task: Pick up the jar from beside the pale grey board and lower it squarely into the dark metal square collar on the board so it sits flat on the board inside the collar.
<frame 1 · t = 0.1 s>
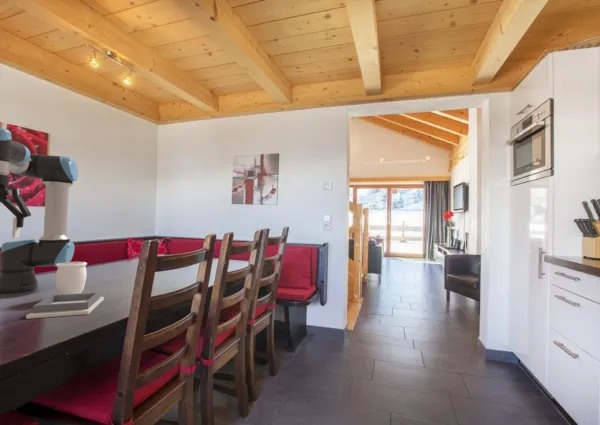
jar: (70, 298, 126), on the table
socket board: (69, 308, 112), on the table
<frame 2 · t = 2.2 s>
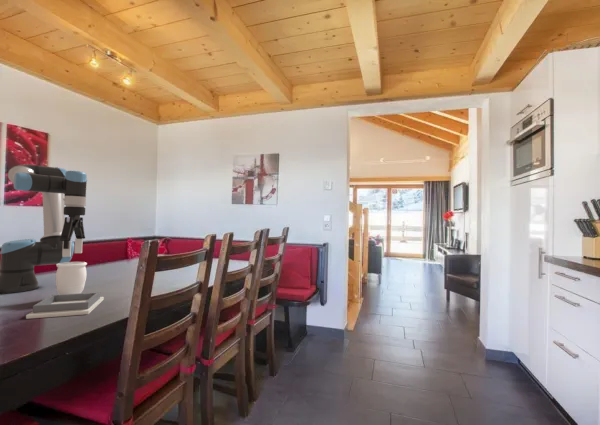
hand: (72, 254, 127), 19 cm above the table, tool pointing down, fingers open, 13 cm apart
nothing on the table moved.
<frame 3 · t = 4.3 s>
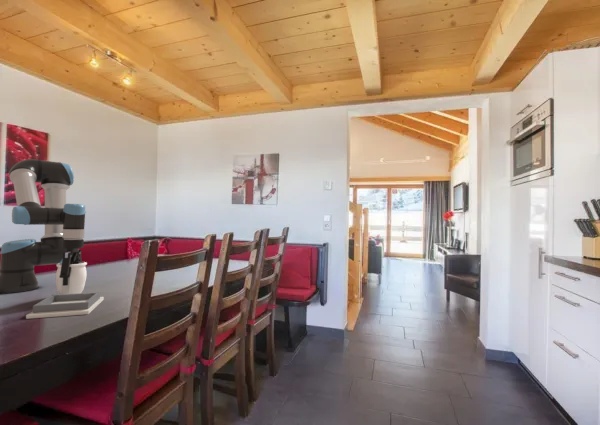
hand: (70, 289, 126), 3 cm above the table, tool pointing down, fingers closed on jar, 10 cm apart
jar: (70, 297, 126), on the table, touching gripper
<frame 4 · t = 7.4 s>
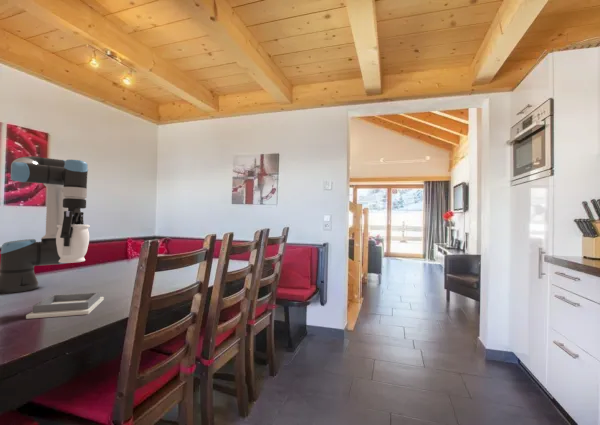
hand: (72, 253, 116), 21 cm above the table, tool pointing down, fingers closed on jar, 10 cm apart
jar: (72, 262, 116), point 17 cm above the table, touching gripper
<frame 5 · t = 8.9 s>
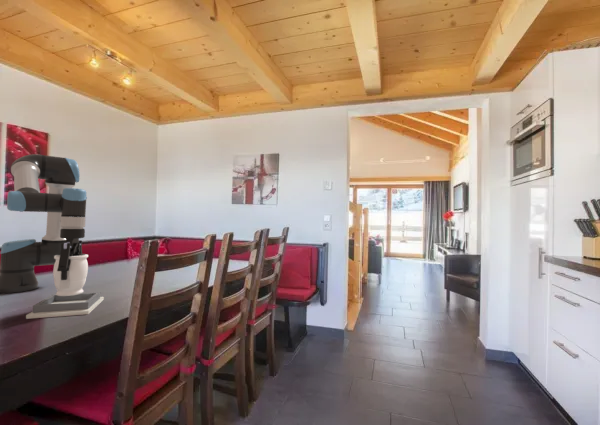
hand: (70, 285, 112), 9 cm above the table, tool pointing down, fingers closed on jar, 10 cm apart
jar: (69, 294, 112), point 5 cm above the table, touching gripper
when the fingers open (6 cm above the table, at t = 10.4 s): jar drops 1 cm, resting on socket board.
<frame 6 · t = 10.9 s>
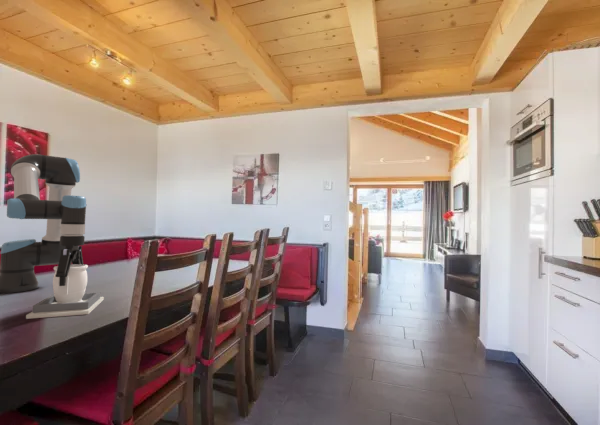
hand: (70, 290, 112), 7 cm above the table, tool pointing down, fingers open, 13 cm apart
jar: (69, 305, 112), point 1 cm above the table, touching socket board
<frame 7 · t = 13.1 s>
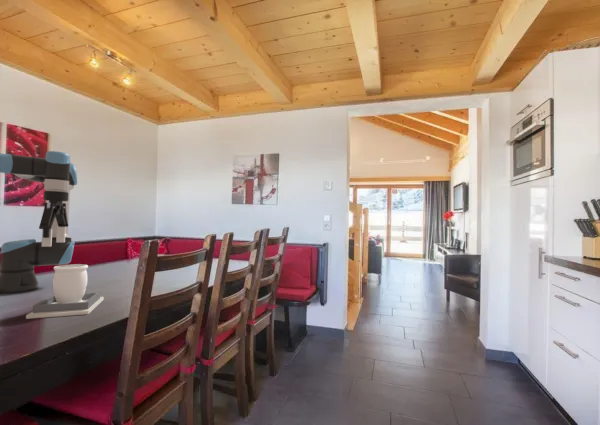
hand: (53, 244, 115), 24 cm above the table, tool pointing down, fingers open, 13 cm apart
nothing on the table moved.
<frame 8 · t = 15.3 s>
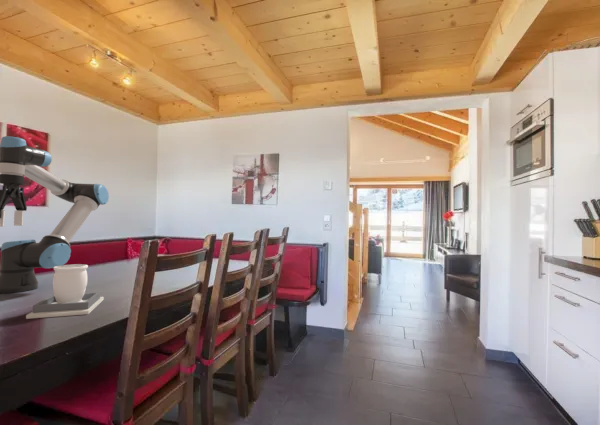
hand: (9, 226, 119), 31 cm above the table, tool pointing down, fingers open, 13 cm apart
nothing on the table moved.
at the end: jar 0.4 cm off-centre on the socket board, point 1.0 cm above the socket board's base; jar tilted 0°; the gripper is holding nothing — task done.
